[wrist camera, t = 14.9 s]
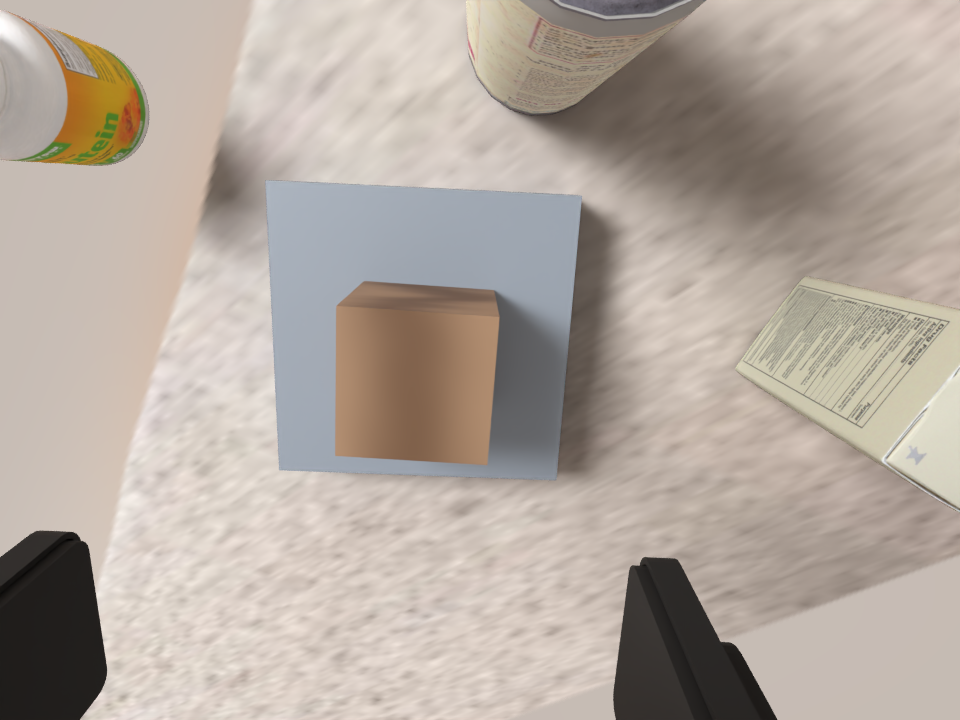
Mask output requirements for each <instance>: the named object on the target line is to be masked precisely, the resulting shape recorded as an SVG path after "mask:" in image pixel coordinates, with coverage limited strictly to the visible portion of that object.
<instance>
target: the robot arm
mask: <svg viewBox="0 0 960 720" xmlns="http://www.w3.org/2000/svg"><path fill="white" fill-rule="evenodd" d="M106 676H107V665H106V658H105V652H104V645H103V639H102V632H101V625H100V619H99V612H98V606H97V599H96V592H95V586H94V579H93V573H92V566H91V559H90V553H89V548H88V545H87V544H86V543H85V542H83V541H81V540H80V537H79V536H78V535H77V534H75V533H74V532H60V531H36V532H34V533H32V534H30V535H29V536H28V537H26V538H25V539H24V540H22V541H21V542H20V543H18V544H17V545H16V546H14V547H13V548H12V549H11V550H9V551H8V552H7V553H5V554H4V555H3V556H1V557H0V720H80V719H81V717H82V716H83V715H84V713H85V712H86V711H87V709H88V708H89V707H90V706H91V704H92V703H93V702H94V700H95V699H96V698H97V696H98V695H99V693H100V692H101V690H102V688H103V686H104V684H105V680H106ZM613 695H614V696H613V697H614V699H613V701H614V712H615V717H616V720H777V718H776V716H775V715H774V713H773V711H772V709H771V707H770V705H769V703H768V702H767V700H766V698H765V696H764V694H763V692H762V691H761V689H760V687H759V685H758V683H757V681H756V680H755V678H754V676H753V674H752V672H751V671H750V669H749V667H748V665H747V663H746V661H745V660H744V658H743V656H742V654H741V653H740V651H739V650H738V648H737V647H736V646H735V645H734V644H732V643H729V642H720V640H719V638H718V636H717V634H716V632H715V630H714V628H713V626H712V625H711V623H710V621H709V619H708V617H707V615H706V613H705V611H704V609H703V607H702V605H701V603H700V601H699V599H698V597H697V595H696V594H695V592H694V590H693V588H692V586H691V584H690V582H689V580H688V578H687V576H686V574H685V572H684V570H683V568H682V566H681V565H680V563H679V561H678V560H677V559H672V558H649V557H644V558H642V560H641V562H640V566H633V565H632V566H631V567H630V570H629V576H628V584H627V592H626V599H625V607H624V615H623V623H622V630H621V638H620V646H619V654H618V661H617V669H616V677H615V684H614V694H613Z"/></svg>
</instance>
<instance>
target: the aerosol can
mask: <svg viewBox="0 0 960 720" xmlns="http://www.w3.org/2000/svg"><path fill="white" fill-rule="evenodd" d="M705 1H706V0H466V7H467V35H468V52H469V57H470V60H471V62H472V65H473V68H474V71H475V73H476V76H477V78H478V80H479V81H480V82H481V84H482V85H483V86H484V88H485V89H486V90H487V92H488V93H489V94H490V95H491V97H493V98H494V99H496V100H497V101H499V102H500V103H501V104H503V105H504V106H506V107H507V108H509V109H510V110H514V111H517V112H521V113H524V114H528V115H545V114H554V113H557V112H559V111H562V110H564V109H567V108H569V107H571V106H574V105H575V104H576V103H578V102H579V101H580V100H582V99H583V98H584V97H585V96H587V95H588V94H589V93H590V92H592V91H593V90H594V89H596V88H597V87H598V86H599V85H601V84H602V83H603V82H604V81H606V80H607V79H608V78H610V77H611V76H612V75H613V74H615V73H616V72H617V71H618V70H620V69H621V68H622V67H623V66H625V65H626V64H627V63H629V62H630V61H631V60H632V59H634V58H635V57H636V56H637V55H639V54H640V53H641V52H643V51H644V50H645V49H646V48H648V47H649V46H650V45H651V44H653V43H654V42H655V41H656V40H658V39H659V38H660V37H662V36H663V35H664V34H665V33H667V32H668V31H669V30H670V29H672V28H673V27H674V26H676V25H677V24H678V23H679V22H681V21H682V20H683V19H684V18H686V17H687V16H688V15H689V14H691V13H692V12H693V11H694V10H695V9H696V8H698V7H699V6H700V5H701V4H702V3H703V2H705Z"/></svg>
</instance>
